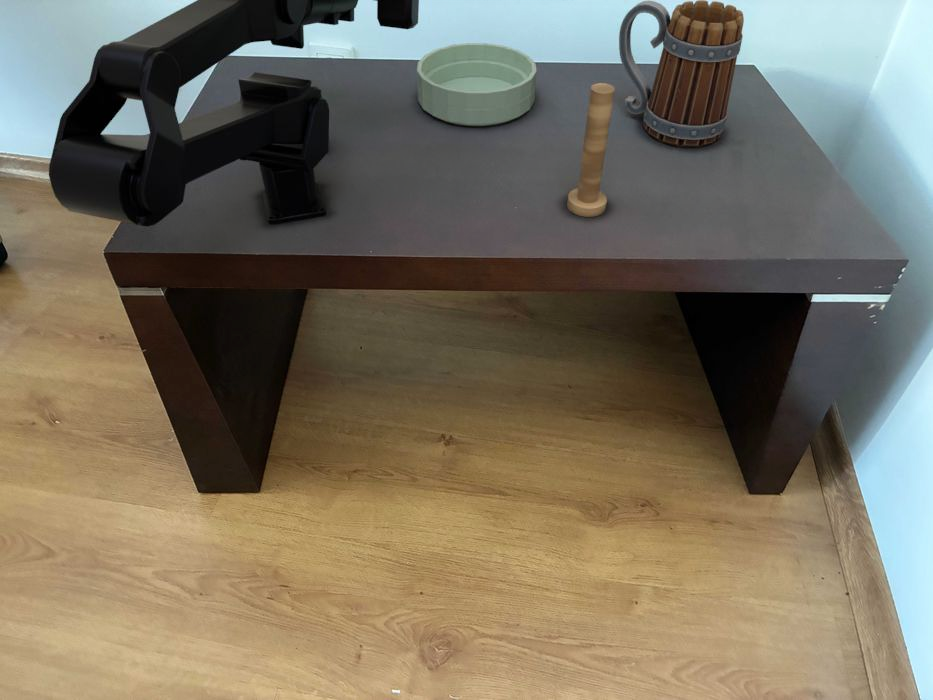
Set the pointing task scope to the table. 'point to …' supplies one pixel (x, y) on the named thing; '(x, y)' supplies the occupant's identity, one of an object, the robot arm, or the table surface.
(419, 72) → the bowl
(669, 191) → the table surface
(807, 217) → the table surface
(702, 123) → the mug
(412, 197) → the table surface
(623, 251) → the table surface
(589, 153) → the wooden pestle
